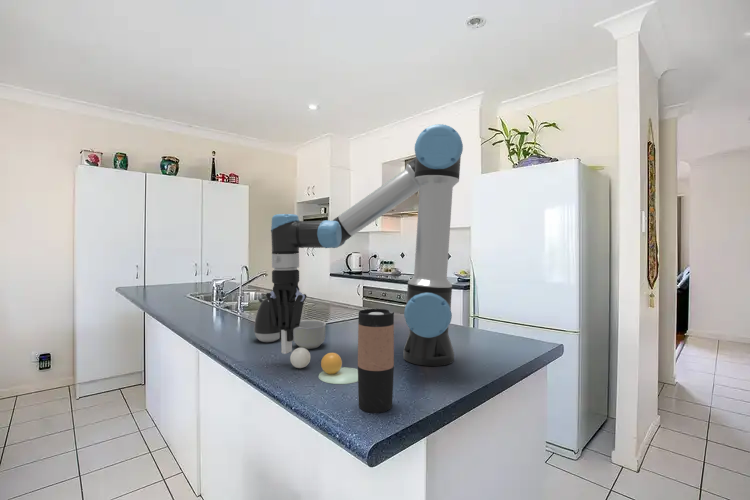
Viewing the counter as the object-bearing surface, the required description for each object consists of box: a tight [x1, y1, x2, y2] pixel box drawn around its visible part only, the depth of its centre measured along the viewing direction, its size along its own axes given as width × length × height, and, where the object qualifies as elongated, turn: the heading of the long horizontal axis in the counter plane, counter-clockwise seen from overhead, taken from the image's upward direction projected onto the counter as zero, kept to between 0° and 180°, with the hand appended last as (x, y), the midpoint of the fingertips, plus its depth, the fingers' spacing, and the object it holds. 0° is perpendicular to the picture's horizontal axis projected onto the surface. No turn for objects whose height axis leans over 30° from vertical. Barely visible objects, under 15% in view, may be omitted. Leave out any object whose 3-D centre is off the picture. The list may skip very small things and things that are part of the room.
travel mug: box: [357, 308, 395, 414], centre depth 79 cm, size 8×8×20 cm
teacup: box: [292, 319, 327, 350], centre depth 125 cm, size 14×11×8 cm
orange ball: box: [320, 352, 343, 374], centre depth 99 cm, size 6×6×6 cm
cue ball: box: [289, 347, 311, 369], centre depth 103 cm, size 6×6×6 cm
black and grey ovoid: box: [253, 297, 280, 343], centre depth 132 cm, size 10×10×15 cm
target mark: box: [318, 366, 358, 385], centre depth 97 cm, size 12×12×1 cm
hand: (286, 352), depth 106 cm, fingers closed
